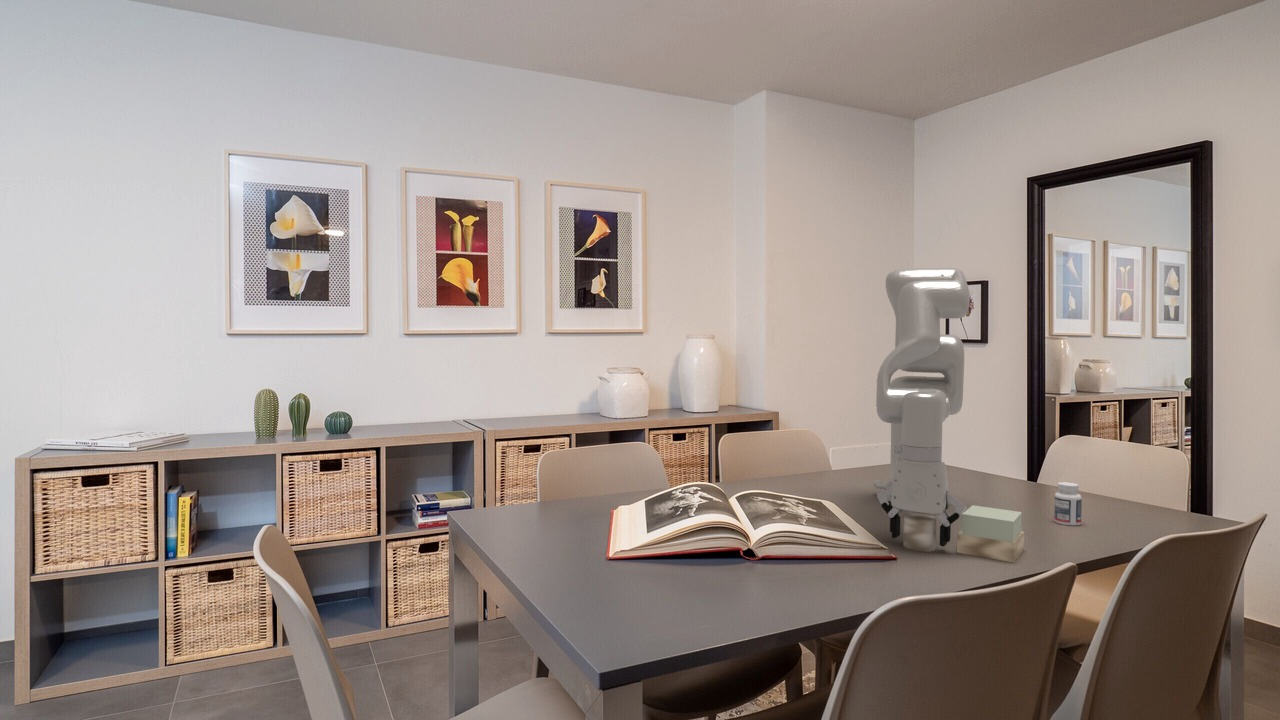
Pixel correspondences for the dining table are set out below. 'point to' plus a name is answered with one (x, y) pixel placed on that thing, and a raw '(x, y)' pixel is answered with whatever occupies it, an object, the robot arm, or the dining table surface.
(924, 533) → the marbled beige cylinder
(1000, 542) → the tower base block
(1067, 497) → the pill bottle
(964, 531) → the tower top block
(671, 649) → the dining table surface
